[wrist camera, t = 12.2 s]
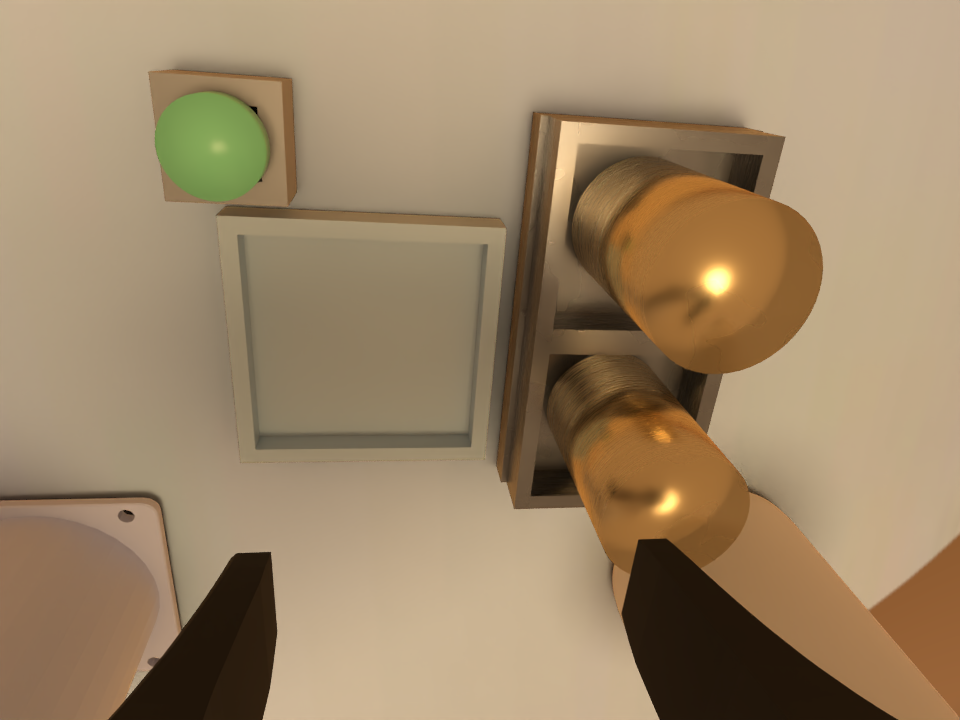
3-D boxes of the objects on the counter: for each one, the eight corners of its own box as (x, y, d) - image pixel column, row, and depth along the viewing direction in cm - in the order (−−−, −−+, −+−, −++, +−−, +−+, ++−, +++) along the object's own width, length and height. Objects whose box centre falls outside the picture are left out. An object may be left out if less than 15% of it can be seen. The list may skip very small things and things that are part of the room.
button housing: (186, 186, 18) (165, 200, 16) (173, 69, 17) (148, 71, 15) (297, 191, 18) (287, 206, 17) (292, 78, 17) (281, 81, 15)
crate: (496, 465, 24) (508, 509, 21) (533, 112, 18) (553, 120, 16) (665, 463, 25) (693, 503, 22) (745, 127, 19) (792, 137, 17)
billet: (555, 187, 18) (626, 242, 13) (685, 134, 18) (811, 168, 13) (592, 307, 20) (668, 398, 15) (711, 259, 20) (831, 335, 15)
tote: (247, 442, 22) (240, 462, 21) (225, 205, 18) (216, 215, 17) (480, 440, 23) (484, 459, 22) (499, 218, 20) (506, 228, 19)
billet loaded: (540, 455, 22) (589, 581, 17) (554, 351, 21) (614, 455, 15) (648, 454, 23) (728, 575, 18) (670, 353, 21) (767, 453, 16)
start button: (193, 178, 18) (162, 199, 15) (182, 83, 17) (147, 88, 14) (283, 183, 18) (268, 204, 15) (279, 90, 17) (261, 97, 14)
